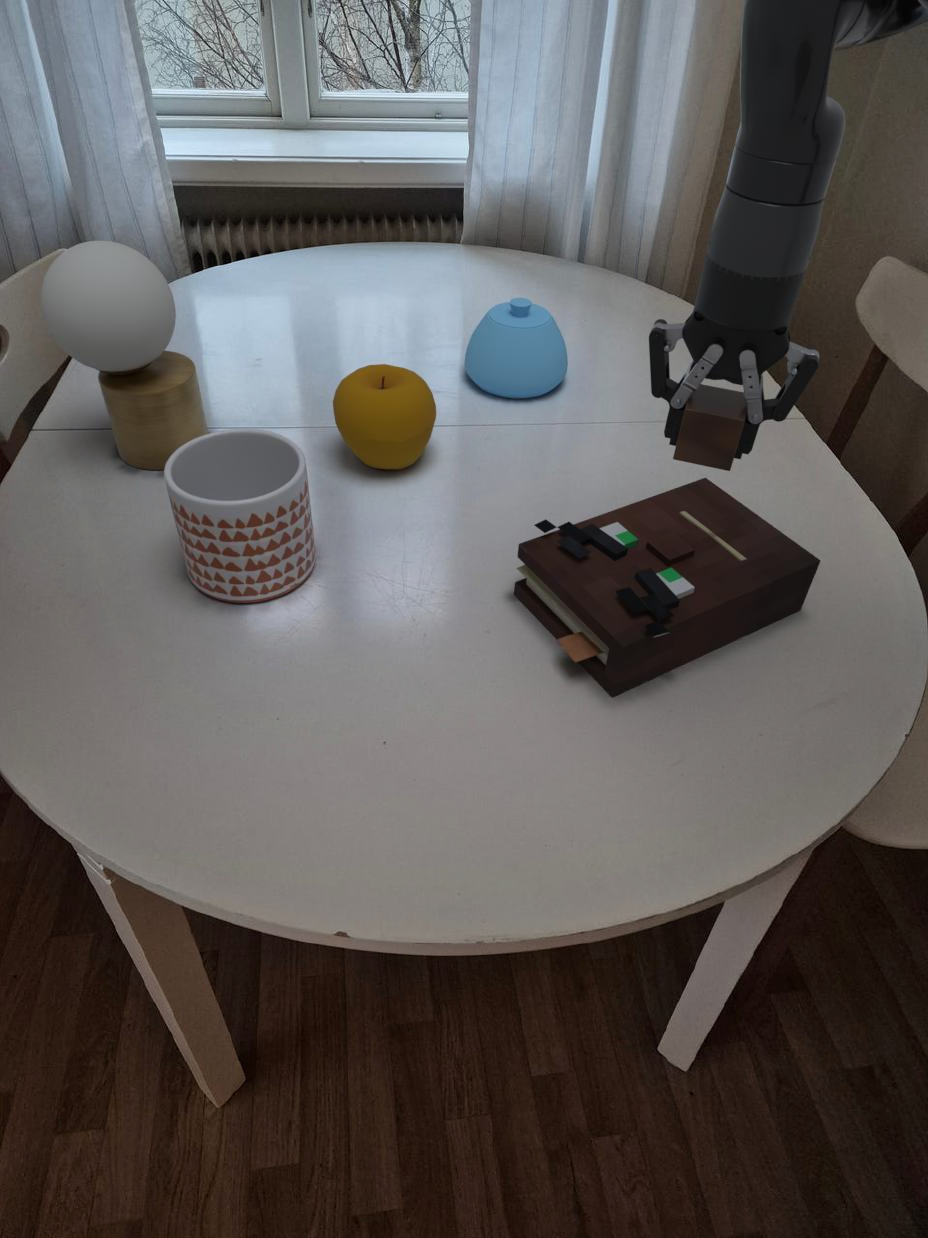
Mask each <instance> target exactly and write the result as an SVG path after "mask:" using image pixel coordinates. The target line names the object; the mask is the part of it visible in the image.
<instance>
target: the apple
mask: <svg viewBox="0 0 928 1238" xmlns="http://www.w3.org/2000/svg"><path fill="white" fill-rule="evenodd" d="M332 399H333V400H332V409H333V416H334V422H335V425H336V427H337V429H338V431H339V434H340V436H341V437H342V440H343V441H344V443H345V444H346V445H347V446H348V448H349V449H350V450H351V451H352V453H353V454H354V455H355V456H356V457H357V458H358V459H360V461H362V463H364V464H365V465H366V466H369V467H371V468H373V469H380V470H403V469H405V468H407V467H409V466H412V465H413V464H414V463H416V461H418V459H419V458H420V457H421V456H422V455H423V453H424V451H425V450H426V447H427V445H428V443H429V441H430V440H431V437H432V434H433V430H434V426H435V423H436V420H437V419H436V418H437V404H436V401H435V398H434V394H433V392H432V390H431V388H430V386H429V385H428V383H427V382H426V380H425V379H424V378H423V377H421V376H420V375H419V374H418V373H416V371H413V370H410V369H408V368H405V367H401V366H396V365H392V364H386V363H382V364H381V363H380V364H368V365H365V366H362V367H359V368H357V369H355V370H354V371H353V372H351V373H349V374H348V375H347V376H345V377H344V378H343V379H341V380H340V382H339V384H338V385H337V387H336V389H335V391H334V395H333V398H332Z"/></svg>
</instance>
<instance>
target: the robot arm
mask: <svg viewBox="0 0 928 1238" xmlns="http://www.w3.org/2000/svg"><path fill="white" fill-rule="evenodd" d="M927 22H928V0H744V2H743V7H742V16H741V29H740V70H739V71H740V72H739V73H740V75H739V79H740V80H739V102H740V103H739V104H740V121H739V122H740V123H739V128H738V131H737V134H736V139H735V143H734V147H733V152H732V155H731V160H730V165H729V168H728V173H727V178H726V181H725V184H724V189H723V193H722V195H721V198H720V201H719V203H718V206H717V208H716V212H715V215H714V220H713V223H712V227H711V231H710V233H709V239H708V244H707V249H706V254H705V258H704V261H703V267H702V271H701V276H700V280H699V283H698V289H697V293H696V298H695V301H694V306H693V310H692V312H691V314H690V315H689V316H688V317H687V319H685V322H680V323H677V322H676V323H668V322H667V321H666V320H665V319H663V318H659V319H656V320H655V321H654V323H653V324H652V328H651V330H650V332H649V335H648V349H649V350H648V351H649V352H648V353H649V371H650V372H649V375H650V392H651V396H653V397H654V398H655V399H663V400H665V401H666V402H667V403H668V405H669V406H668V407H669V408H668V412H667V416H666V420H665V426H664V430H663V434H664V438H666V439H670V440H669V444H668V445H669V446H673V447H676V444H677V440H678V435H679V431H680V427H681V423H682V419H683V415H684V411H685V407H686V404H687V401H688V399H689V398H690V396H691V395H692V394H693V392H694V391H696V390H697V388H698V387H699V385H700V384H702V383H703V381H704V380H711V381H722V380H724V381H726V382H728V383H731V384H732V385H737V386H742V387H743V392H744V397H745V400H746V406H747V413H746V419H745V423H744V426H743V430H742V433H741V436H740V440H739V443H738V446H737V450H736V453H735V456H734V459H735V460H741V459H742V456H743V454H744V455H749V454H751V452H752V451H753V448H754V444H755V442H756V438H757V434H758V432H759V428H760V426H761V424H762V423H763V422H765V421H770V420H773V421H775V422H777V423H781V422H783V421H785V420H786V419H787V417H788V416H789V414H790V412H791V411H792V409H793V408H794V406H795V405H796V403H797V402H798V401H799V399H800V397H801V396H802V394H803V392H804V391H805V389H806V388H807V386H808V384H809V383H810V381H811V380H812V378H813V376H814V375H815V373H816V372H817V370H818V368H819V364H820V349H819V348H818V346H815V345H809V346H807V347H804V346H802V345H800V344H797V343H794V342H793V341H791V335H790V330H789V328H790V325H791V321H792V317H793V315H794V311H795V308H796V305H797V301H798V297H799V295H800V292H801V288H802V286H803V282H804V279H805V275H806V273H807V269H808V266H809V263H810V260H811V256H812V254H813V252H814V248H815V243H816V241H817V236H818V232H819V229H820V225H821V219H822V211H823V206H824V203H825V199H826V196H827V193H828V189H829V186H830V183H831V179H832V176H833V173H834V170H835V167H836V163H837V159H838V156H839V153H840V150H841V147H842V143H843V138H844V134H845V131H846V113H845V110H844V108H843V106H842V105H841V104H840V103H839V102H837V100H836V99H833V98H831V97H830V96H828V91H829V84H830V83H829V82H830V74H831V67H832V61H833V55H834V52H838V51H844V50H845V51H846V50H849V49H854V48H859V47H862V46H865V45H869V44H872V43H875V42H878V41H880V40H884V39H887V38H890V37H892V36H895V35H898V34H901V33H903V32H906V31H908V30H911V29H913V28H916V27H918V26H922V25H923V24H926V23H927ZM680 339H682V340H683V342H684V344H685V345H686V349H687V350H688V352H689V354H690V357H691V359H692V361H691V362H690V363H689V365H688V367H687V369H686V371H684V373H683V375H682V377H681V378H680V380H678V382H677V381H676V380H673V379H671V375H670V374H671V373H670V372H671V371H670V370H671V369H670V353H671V352H673V351H674V350H675V348H676V345H677V342H678V341H679V340H680ZM783 358H786V359H787V365H786V372H787V374H789V375H788V376H787V377H786V379H785V381H784V383H783V384H782V386H781V387H780V389H779V391H778V392H777V394H776V395H775V397H774V398H767V399H766V398H765V392H764V389H765V388H764V375H763V374H764V373H765V372H766V371H767V370H769V369H770V368H772V367H773V366H774V365H776V364H777V363H778V362H779V361H780V360H782V359H783Z"/></svg>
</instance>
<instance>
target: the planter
mask: <svg viewBox="0 0 928 1238" xmlns="http://www.w3.org/2000/svg"><path fill="white" fill-rule="evenodd" d="M163 476H164V482H165V486H166V490H167V494H168V499H169V503H170V507H171V510H172V515H173V519H174V523H175V527H176V531H177V536H178V540H179V545H180V548H181V552H182V557H183V561H184V565H185V569H186V571H187V572H186V573H187V576H188V578H189V580H190V582H191V583H192V584H193V585H194V587H195V588H197V589H198V590H199V592H202V593H203V594H205V595H206V596H208V597H210V598H213V599H216V600H219V601H223V602H229V603H237V604H250V603H259V602H264V601H269V600H272V599H275V598H278V597H281V596H283V595H285V594H287V593H290V592H291V591H293V590H295V589H296V588H297V587H299V586H300V585H301V584H302V583H304V582H305V581H306V579H307V578H308V577H309V576H310V574H311V573H312V571H313V569H314V567H315V564H316V559H317V558H316V557H317V556H316V543H315V534H314V524H313V515H312V505H311V497H310V488H309V487H310V486H309V479H308V478H309V477H308V469H307V461H306V457H305V454H304V452H303V450H302V449H301V447H299V445H298V444H297V443H296V442H294V441H292V440H291V439H290V438H288V437H286V436H284V435H282V434H280V433H276V432H273V431H269V430H265V429H259V428H257V429H256V428H231V429H230V428H229V429H224V430H217V431H213V432H210V433H209V432H208V434H206V435H203V436H200V437H198V438H195V439H193V440H191V441H189V442H187V443H185V444H184V445H182V446H181V447H180V448H178V449H177V450H176V451H175V452H174V453H173V454H172V455H171V456H170V458H169V459H168V461H167V463H166V465H165V469H164V470H163Z"/></svg>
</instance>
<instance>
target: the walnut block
mask: <svg viewBox="0 0 928 1238" xmlns="http://www.w3.org/2000/svg"><path fill="white" fill-rule="evenodd" d="M746 413H747V406H746V400H745V397H744V391H740V390H739V391H738V390H733V389H729V388H724V387H718V386H712V385H708V384H702V383H701V384H700V385H699V387H698V388H697V390H696V391H694V392H693V394H692V395H691V396H690V398H689V399H688V401H687V404H686V407H685V411H684V415H683V419H682V423H681V427H680V431H679V435H678V440H677V444H676V446H675V448H674V452H673V456H672V460H674V461H678V462H679V461H680V462H684V463H689V464H693V465H699V466H703V467H708V468H712V469H717V470H721V471H727V472H730V471H731V469H732V466H733V462H734V460H735V458H734V456H735V453H736V450H737V446H738V443H739V440H740V436H741V433H742V430H743V426H744V423H745V419H746Z"/></svg>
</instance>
